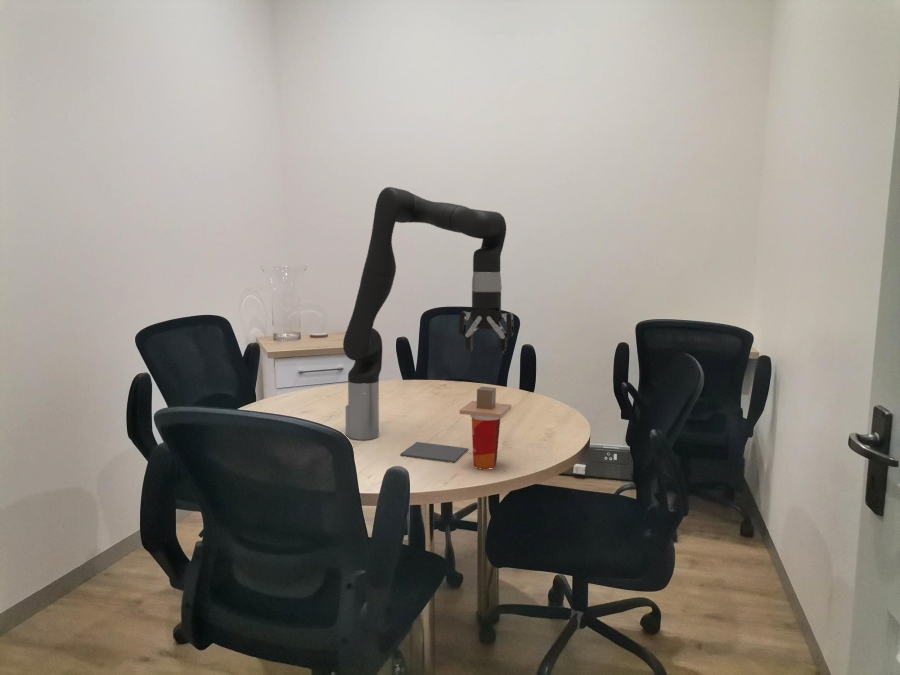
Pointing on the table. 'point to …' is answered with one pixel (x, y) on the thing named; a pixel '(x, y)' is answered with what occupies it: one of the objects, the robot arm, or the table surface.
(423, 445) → the mat
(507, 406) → the cover
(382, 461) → the table surface
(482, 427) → the coffee cup
